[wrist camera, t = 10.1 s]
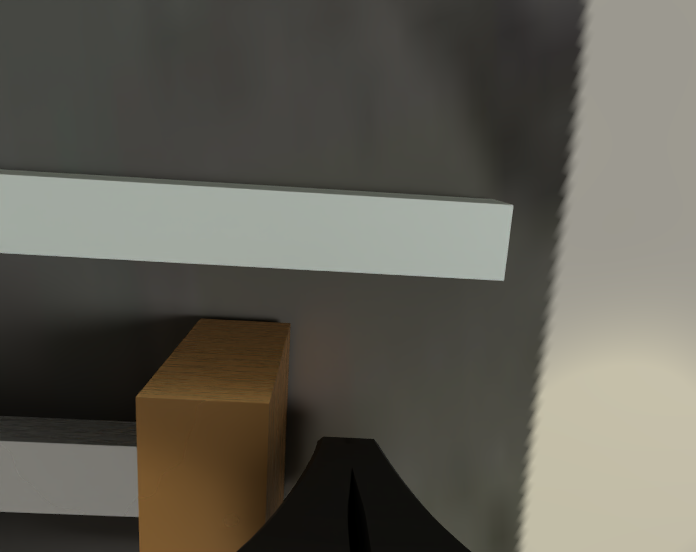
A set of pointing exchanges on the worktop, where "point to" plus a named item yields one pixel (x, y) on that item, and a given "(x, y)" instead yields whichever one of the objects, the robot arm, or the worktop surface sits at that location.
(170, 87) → the worktop surface
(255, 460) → the vise jaw
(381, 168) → the worktop surface
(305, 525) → the robot arm
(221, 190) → the vise
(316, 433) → the worktop surface
